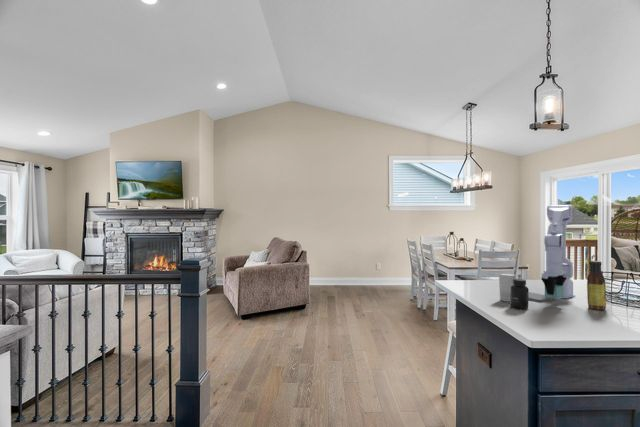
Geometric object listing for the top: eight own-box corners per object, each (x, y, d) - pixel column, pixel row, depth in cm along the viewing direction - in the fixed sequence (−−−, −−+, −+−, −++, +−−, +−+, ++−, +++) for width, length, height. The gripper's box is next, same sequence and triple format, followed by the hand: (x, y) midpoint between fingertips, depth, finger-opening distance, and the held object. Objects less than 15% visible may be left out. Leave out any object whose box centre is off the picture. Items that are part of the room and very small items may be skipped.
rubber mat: (530, 294, 181) (530, 292, 181) (555, 299, 171) (555, 297, 171) (515, 297, 176) (515, 294, 176) (540, 302, 165) (540, 300, 165)
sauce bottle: (609, 311, 150) (609, 262, 150) (592, 310, 151) (591, 262, 151) (600, 307, 156) (600, 260, 156) (584, 306, 158) (583, 260, 158)
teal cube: (551, 295, 161) (551, 284, 161) (563, 297, 157) (563, 285, 157) (544, 296, 159) (544, 285, 159) (556, 299, 155) (556, 287, 155)
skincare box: (517, 301, 167) (517, 274, 167) (512, 302, 164) (512, 275, 164) (503, 298, 172) (503, 273, 172) (498, 300, 169) (498, 274, 169)
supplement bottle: (510, 308, 155) (510, 280, 155) (510, 305, 161) (510, 277, 161) (528, 310, 151) (528, 281, 151) (528, 306, 157) (528, 278, 157)
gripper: (553, 260, 165) (553, 290, 165) (534, 262, 158) (534, 293, 158) (570, 261, 159) (570, 293, 159) (551, 264, 152) (551, 297, 152)
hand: (554, 293), depth 158 cm, fingers closed on teal cube, 5 cm apart
